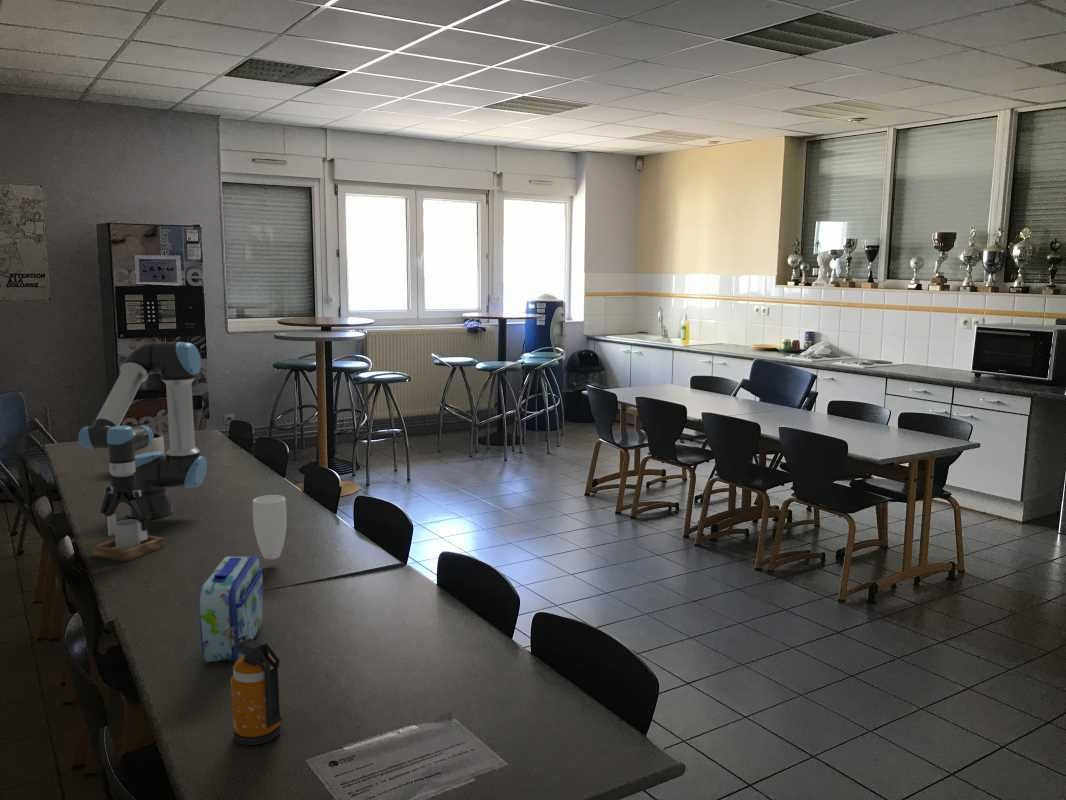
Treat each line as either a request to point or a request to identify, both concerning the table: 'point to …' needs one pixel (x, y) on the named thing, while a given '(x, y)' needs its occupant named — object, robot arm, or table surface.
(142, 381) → the robot arm
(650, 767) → the table surface
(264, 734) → the canister
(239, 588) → the lunch box
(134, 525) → the cup
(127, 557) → the tray
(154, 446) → the planter
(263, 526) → the cup
